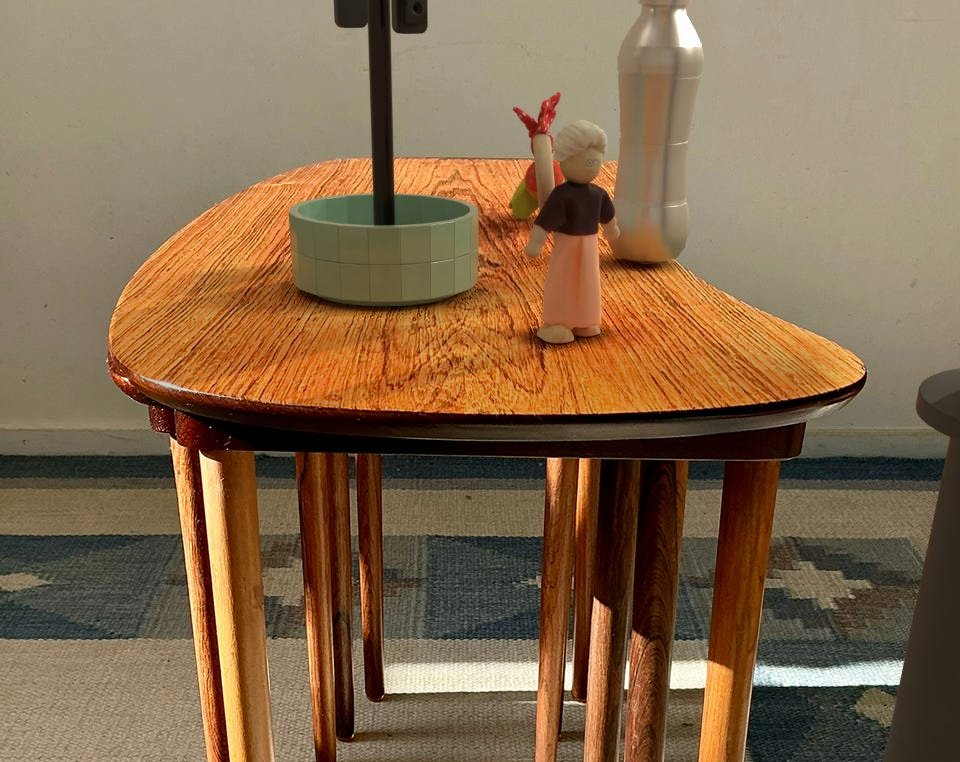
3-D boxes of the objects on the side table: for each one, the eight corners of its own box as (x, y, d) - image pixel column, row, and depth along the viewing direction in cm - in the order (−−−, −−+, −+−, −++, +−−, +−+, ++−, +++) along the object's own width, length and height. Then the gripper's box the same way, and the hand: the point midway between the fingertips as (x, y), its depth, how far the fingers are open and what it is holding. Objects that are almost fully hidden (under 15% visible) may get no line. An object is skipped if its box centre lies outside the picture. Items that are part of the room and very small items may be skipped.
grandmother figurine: (564, 351, 74) (574, 128, 68) (513, 341, 76) (518, 122, 70) (630, 326, 80) (644, 116, 74) (580, 316, 82) (591, 112, 76)
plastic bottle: (676, 252, 100) (700, -25, 91) (694, 270, 94) (721, -23, 85) (598, 252, 100) (613, -25, 90) (611, 271, 94) (629, -24, 84)
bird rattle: (582, 251, 110) (571, 193, 116) (595, 137, 101) (583, 80, 107) (513, 252, 110) (505, 194, 115) (520, 137, 101) (511, 80, 106)
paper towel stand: (427, 274, 90) (424, -12, 81) (407, 289, 86) (402, -11, 77) (365, 270, 91) (355, -13, 82) (343, 284, 87) (330, -12, 78)
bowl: (496, 274, 93) (497, 198, 90) (449, 317, 81) (449, 231, 79) (331, 263, 95) (328, 189, 93) (265, 303, 84) (259, 220, 82)
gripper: (487, -285, 69) (483, 35, 77) (374, -253, 80) (381, 25, 87) (367, -299, 65) (376, 37, 73) (266, -264, 76) (283, 26, 84)
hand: (379, 30), depth 80 cm, fingers open, 8 cm apart
